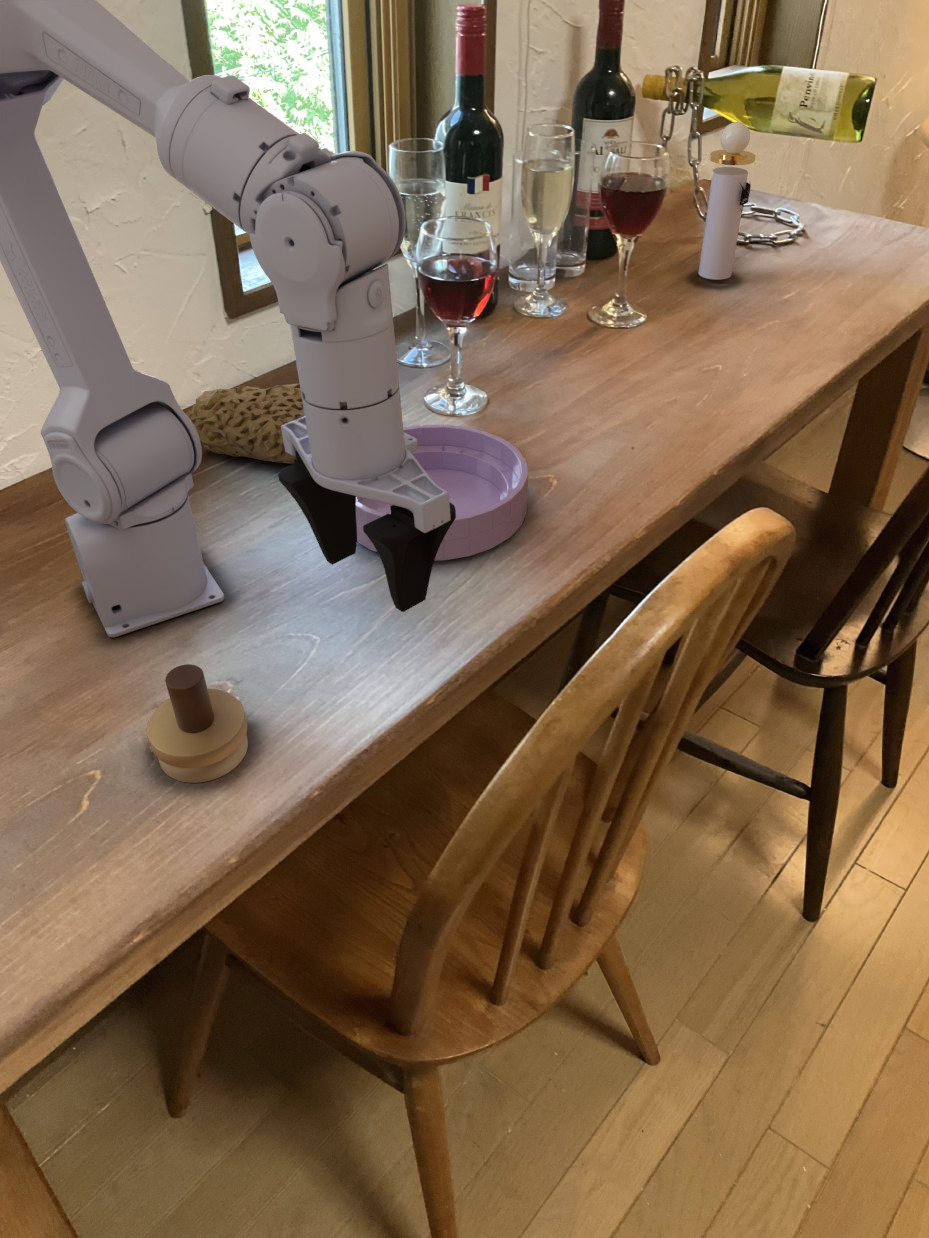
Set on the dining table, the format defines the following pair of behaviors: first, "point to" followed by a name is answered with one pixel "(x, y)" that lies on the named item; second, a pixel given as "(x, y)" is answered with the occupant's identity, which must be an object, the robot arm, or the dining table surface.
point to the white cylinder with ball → (725, 203)
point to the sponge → (247, 420)
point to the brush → (197, 728)
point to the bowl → (465, 487)
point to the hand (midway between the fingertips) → (375, 579)
